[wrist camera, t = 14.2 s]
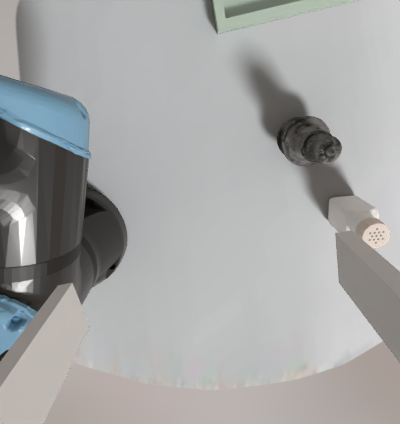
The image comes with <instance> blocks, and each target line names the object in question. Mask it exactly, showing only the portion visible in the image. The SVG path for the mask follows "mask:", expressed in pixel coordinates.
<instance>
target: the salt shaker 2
mask: <svg viewBox="0 0 400 424" xmlns="http://www.w3.org/2000/svg"><path fill="white" fill-rule="evenodd" d="M328 221H329V223H330V224H331V225H332V226H333V227H334V228H335V229H336V230H337V231H338V232H345V231H350V230H352V231H353V232H354V233H356V234H357V235H358V236H359V237H360V238H361V239H362V240H364V241H365V242H366V243H367V244H368V245H369V246H371V247H372V248H378V247H381V246H383V245H384V244H385V243H386V242H388V240H389V237H390V235H391V234H390V229H389V227H388V226H386V225H385V224H384V223H383V222H381V221H380V220H379V212H378V210H377V208H375V207H374V206H372V205H370V204H369V203H367V202H366V201H364V200H362V199H361V198H359V197H358V196H355V195H352V196H342V197H333V198H330V200H329V213H328Z"/></svg>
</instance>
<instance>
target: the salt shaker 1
mask: <svg viewBox="0 0 400 424" xmlns="http://www.w3.org/2000/svg"><path fill="white" fill-rule="evenodd" d="M277 139H278V146H279V149H280V150H281V152H282V153H283V154H284V155H285V156H286V158H287V159H288V160H289V161H290V162H292V163H294V164H296V165H300V166H307V165H311V164H314V163H316V162H319V163H322V164H328V163H332V162H334V161H335V160H336V159H337V158H338V157H339V156H340V154H341V150H342V146H341V143H340V141H339V140H338V139H337V138H336V137H333V136H332V135H331V134H330V131H329V128H328V127H327V125H326V123H324V122H323V121H322V120H321V119H319V118H316V117H311V116H306V117H297V118H293V119H291V120H289V121H287V122H286V123H285V124H284V125H283V126H282V127H281V129H280V131H279V133H278V138H277Z"/></svg>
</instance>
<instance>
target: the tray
mask: <svg viewBox="0 0 400 424" xmlns="http://www.w3.org/2000/svg"><path fill="white" fill-rule="evenodd" d="M355 1H359V0H212V5H213V10H214V16H215V22H216V28H217V34H220V33H224V32H228V31H232V30H237V29H241V28H245V27H249V26H254V25H258V24H262V23H266V22H270V21H275V20H279V19H283V18H287V17H292V16H296V15H300V14H304V13H308V12H313V11H317V10H321V9H325V8H330V7H334V6H338V5H342V4H346V3H351V2H355Z"/></svg>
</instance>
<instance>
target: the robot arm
mask: <svg viewBox="0 0 400 424" xmlns="http://www.w3.org/2000/svg"><path fill="white" fill-rule="evenodd" d="M89 126H90V120H89V115H88V112H87V110H86V109H85V107H84V106H83V105H82V104H81V103H80V102H79V101H78V100H76V99H75V98H73V97H70V96H68V95H65V94H61V93H58V92H55V91H52V90H49V89H45V88H42V87H39V86H35V85H32V84H29V83H25V82H22V81H19V80H15V79H12V78H8V77H5V76H2V75H0V424H43V423H44V421H45V419H46V417H47V415H48V413H49V411H50V409H51V407H52V405H53V403H54V400H55V398H56V396H57V394H58V392H59V390H60V388H61V386H62V384H63V382H64V380H65V378H66V375H67V373H68V371H69V369H70V367H71V365H72V363H73V361H74V359H75V357H76V355H77V353H78V351H79V348H80V346H81V344H82V342H83V340H84V338H85V336H86V334H87V332H88V330H89V328H90V326H89V323H88V321H87V318H86V315H85V313H84V310H83V308H82V304H83V302H84V300H85V298H86V297H87V295H88V293H89V291H90V289H91V288H92V287H94V286H96V285H97V284H99V283H100V282H102V281H103V280H105V279H106V278H108V277H109V276H110V275H111V274H112V273H113V272H114V271H115V270H116V268H117V267H118V265H119V264H120V262H121V260H122V258H123V256H124V253H125V250H126V246H127V230H126V226H125V223H124V220H123V218H122V216H121V214H120V213H119V211H118V210H117V208H116V207H115V206H114V205H113V204H112V203H111V202H110V201H109V200H108V199H107V198H106V197H105V196H103V195H102V194H100V193H98V192H97V191H95V190H93V189H90V188H88V187H86V186H87V175H88V163H89V159H91V153H90V152H89ZM335 235H336V249H337V262H338V276H339V283H340V285H341V286H342V287H343V289H344V290H345V291H346V292H347V294H348V295H349V296H350V298H351V299H352V300H353V302H354V303H355V304H356V306H357V307H358V308H359V310H360V311H361V312H362V314H363V315H364V316H365V318H366V319H367V320H368V322H369V323H370V324H371V326H372V327H373V328H374V329H375V331H376V332H377V333H378V335H379V336H380V337H381V339H382V340H383V341H384V343H385V344H386V345H387V347H388V348H389V349H390V350H391V352H392V353H393V354H394V356H395V357H396V359H397V360H398V361H399V363H400V272H399V271H398V270H397V269H396V268H395V267H394V266H392V265H391V264H390V263H389V262H388V261H387V260H386V259H384V258H383V257H382V256H381V255H380V254H379V253H377V252H376V251H375V250H374V249H373V248H372V247H371V246H369V245H368V244H367V243H366V242H365V241H364V240H362V239H361V238H360V237H359V236H358V235H357V234H356V233H354V232H353V231H352V230H350V231H345V232H339V233H335Z"/></svg>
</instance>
